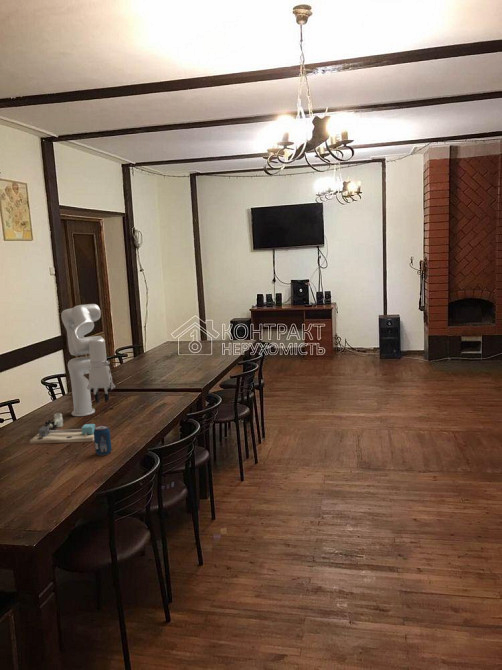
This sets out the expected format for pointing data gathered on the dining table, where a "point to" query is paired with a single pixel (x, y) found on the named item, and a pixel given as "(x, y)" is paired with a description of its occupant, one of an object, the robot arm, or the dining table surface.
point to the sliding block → (88, 429)
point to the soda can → (102, 440)
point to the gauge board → (60, 436)
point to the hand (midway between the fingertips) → (102, 401)
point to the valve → (55, 422)
